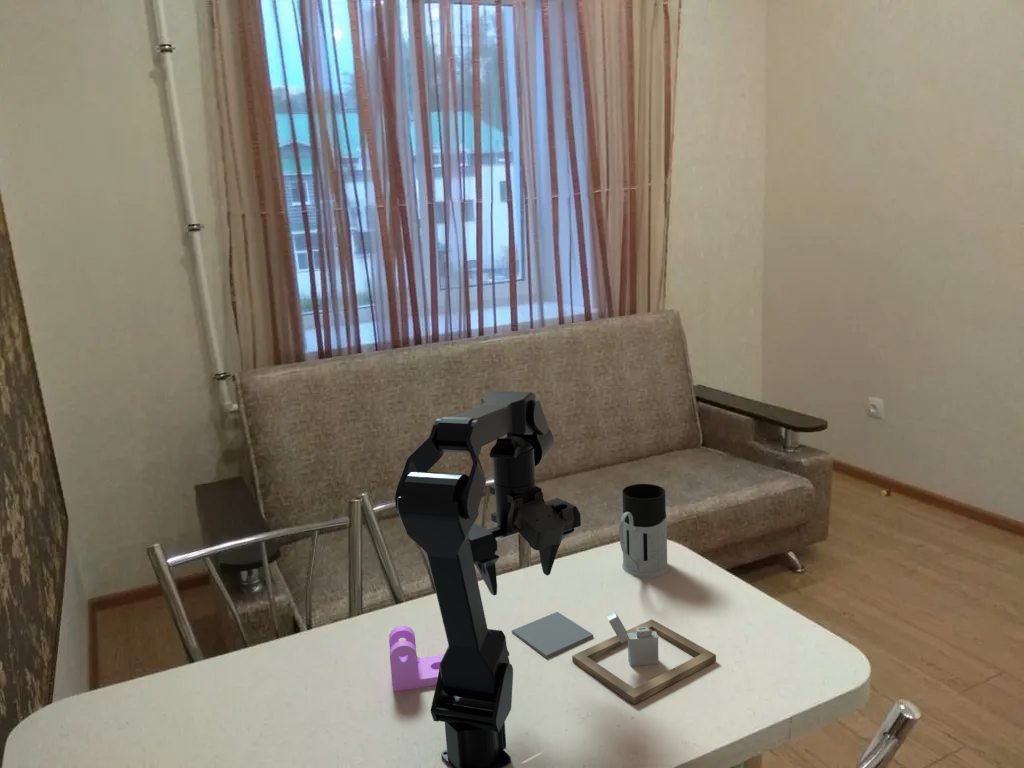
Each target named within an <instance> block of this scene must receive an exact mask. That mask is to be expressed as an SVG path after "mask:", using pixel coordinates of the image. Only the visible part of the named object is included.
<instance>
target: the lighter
mask: <svg viewBox="0 0 1024 768" xmlns="http://www.w3.org/2000/svg"><path fill="white" fill-rule="evenodd" d="M606 617H607V621H608V622H609V624H610V626H611V628H612V629H613V631H614V633H615V634H616V635H617V636H618V638H619V640H620V642H621V643H623V642H625V641H626V640H628V643H627V659H628V663H629V666H630V667H638V666H651V665H653V666H654V665H659V661H660V660H659V635H657V633H656V631H652V630H651V629H649V628H648V627H639V628H636V633H627V629H626V627H625V626H624V625H623V623H622V621H621V619H620V617H619V615H618V614H617V612H616V610H615V611H612V612H610V613H609V614H607V615H606ZM616 635H615V636H616Z"/></svg>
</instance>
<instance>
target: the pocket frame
mask: <svg viewBox="0 0 1024 768" xmlns="http://www.w3.org/2000/svg"><path fill="white" fill-rule="evenodd" d="M639 627H648V628H649V629H651V630H652V631H656V633H657V635H658V637H661V638H662V639H664V640H666V641H667V642H668V643H670V644H672V645H674V647H675V646H676V647H677V648H679V649H681V650H682V651H684V652H685V653H687V654H689V655H691V656H692V658H690V659H688V660H687V661H685V662H683V663H680V664H679V665H677V666H675V667H673V668H671V669H669V670H667V671H665V672H663V673H661V674H659V675H657V676H655V677H654V678H651V679H649V680H648V681H646V682H644V683H641V684H640V685H638V686H635V687H633V686H632V685H630V684H629V683H627V682H626V681H624V680H623V679H621V678H620V677H618V676H617V675H616V674H614V673H612V672H611V671H609V670H608V669H606V668H605V667H603V666H602V665H601V664H599V663H597V662H596V661H595V659H598V658H599V657H602V656H604V655H606V654H608V653H610V652H612V651H614V650H616V649H618V648H620V647H623V646H625V645H628V640H626V641H625V642H623V643H621V642H620V640H619V638H618V636H617V635H614V636H612V637H610V638H608V639H605V640H603V641H601V642H599V643H597V644H594V645H593V646H589V647H588V648H586V649H584V650H582V651H579V652H577V653H575V654H573V655H572V660H571V661H572V663H574V664H575V665H576V666H578V667H579V668H581V669H582V670H584V671H585V672H586V673H588V674H589V675H591V676H592V677H594V678H595V679H596V680H598V681H600V682H601V683H602V684H604V685H605V686H607V687H608V688H609V689H611V690H613V691H614V692H615V693H617V694H619V696H621V697H623V699H625V700H627V701H628V702H629V703H631V704H632V705H636V704H637V703H639V702H641V701H643V700H645V699H647V698H649V697H651V696H652V695H655V694H656V693H658V692H660V691H662V690H664V689H666V688H668V687H671V686H672V685H673V684H675V683H678V682H679V681H682V680H683V679H685V678H686V677H689V676H690V675H693V674H695V673H696V672H698V671H700V670H702V669H704V668H706V667H708V666H710V665H711V664H713V663H715V662H717V654H715V653H713V652H712V651H709V650H708V649H706V648H705V647H703V646H700V645H699V644H697V643H695V642H694V641H692V640H690V639H688V638H687V637H685V636H683V635H681V634H680V633H678V632H676V631H674V630H672V629H670V628H669V627H667V626H665V625H663V624H662V623H659V622H658V621H656V620H654V619H652V618H651V619H649V620H647V621H646V622H645V621H644V622H642V623H641V624H638V625H636V626H634V627H632V628H629V629H628V630H627V629H626V631H627V633H636V628H639Z"/></svg>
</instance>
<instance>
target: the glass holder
mask: <svg viewBox="0 0 1024 768" xmlns="http://www.w3.org/2000/svg"><path fill="white" fill-rule="evenodd" d="M621 491H622V492H621V493H622V494H621V495H622V514H621V518H620V521H619V524H618V525H619V527H618V528H619V530H618V532H619V535H618V536H619V537H618V538H619V543H620V548H621V551H622V565H621V567H622V570H623V571H624V572H625V573H627V574H628V575H630V576H634V577H638V578H645V579H646V578H647V579H648V578H656V577H660V576H663V575H664V574H666V573H667V572H668V570H669V564H668V525H667V524H668V523H667V522H668V519H667V511H666V489H665V488H663V487H662V486H660V485H656V484H653V483H652V484H650V483H638V484H636V483H635V484H631V485H628V486H625V487H624V488H623V489H622V490H621Z"/></svg>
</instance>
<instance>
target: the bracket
mask: <svg viewBox="0 0 1024 768" xmlns="http://www.w3.org/2000/svg"><path fill="white" fill-rule="evenodd" d="M388 638H389V639H388V641H389V642H388V644H389V662H390V664H389V665H390V674H391V682H392V683H391V685H392V692H397V691H404V690H412V689H417V688H418V689H419V688H426V687H432V686H436V684H437V679H438V673H439V668H440V663H441V660H442V658H443V656H444V654H445V653H443V654H442V653H441V654H437V655H429V656H423V657H418V655H417V646H416V645H417V643H416V634H415V632H414V630H413V629H412V628H411V627H410V626H408V625H398V626H396V627H394V628H393V629H391V631H390V632H389V635H388ZM402 638H403V639H405V640H401V639H402Z"/></svg>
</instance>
